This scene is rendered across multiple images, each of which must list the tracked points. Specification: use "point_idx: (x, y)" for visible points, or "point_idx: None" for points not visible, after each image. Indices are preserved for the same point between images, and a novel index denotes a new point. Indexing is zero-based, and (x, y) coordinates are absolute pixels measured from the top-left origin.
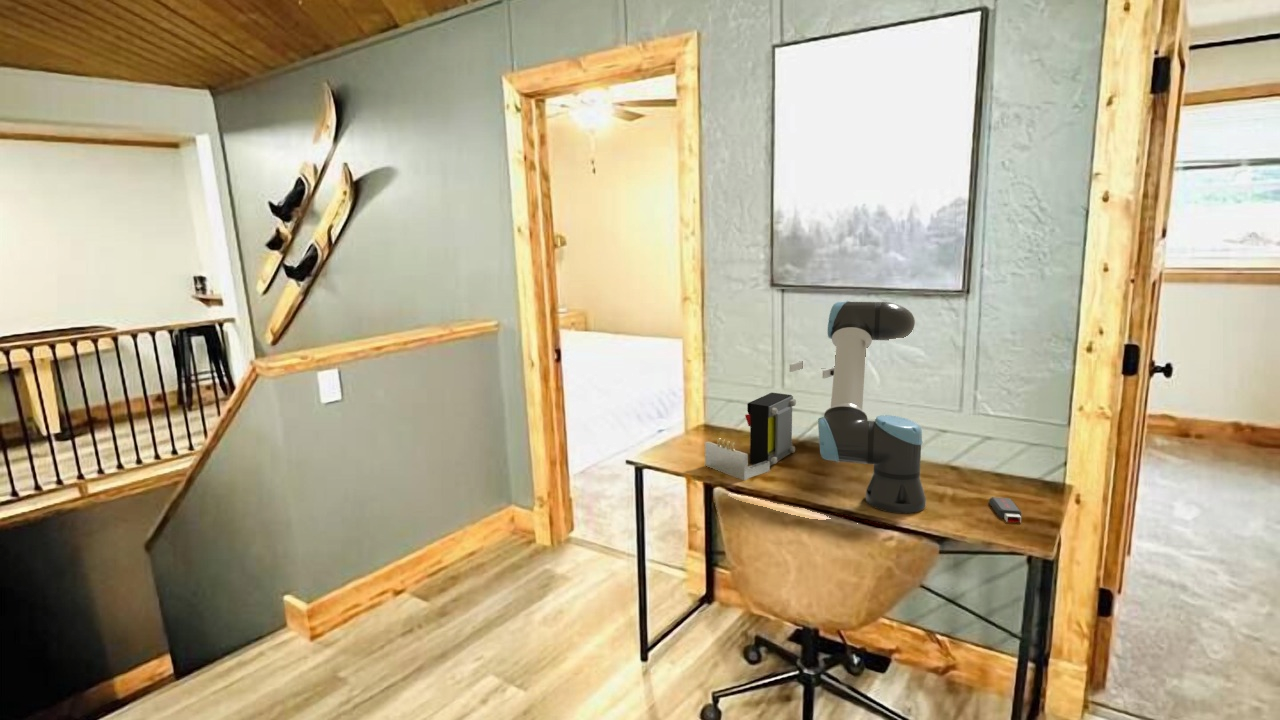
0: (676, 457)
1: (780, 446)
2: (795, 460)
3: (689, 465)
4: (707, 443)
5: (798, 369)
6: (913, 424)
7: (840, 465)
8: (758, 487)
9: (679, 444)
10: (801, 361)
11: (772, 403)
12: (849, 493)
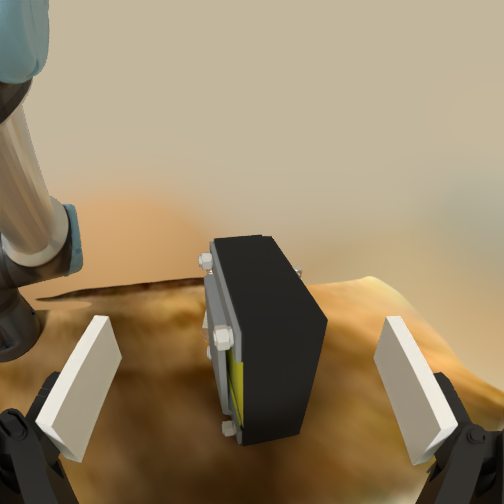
0: (357, 298)
1: (211, 354)
2: (198, 409)
3: (314, 292)
4: (295, 266)
5: (398, 418)
6: None
7: (101, 434)
8: (178, 294)
9: (417, 329)
10: (439, 416)
11: (220, 252)
12: (61, 334)
